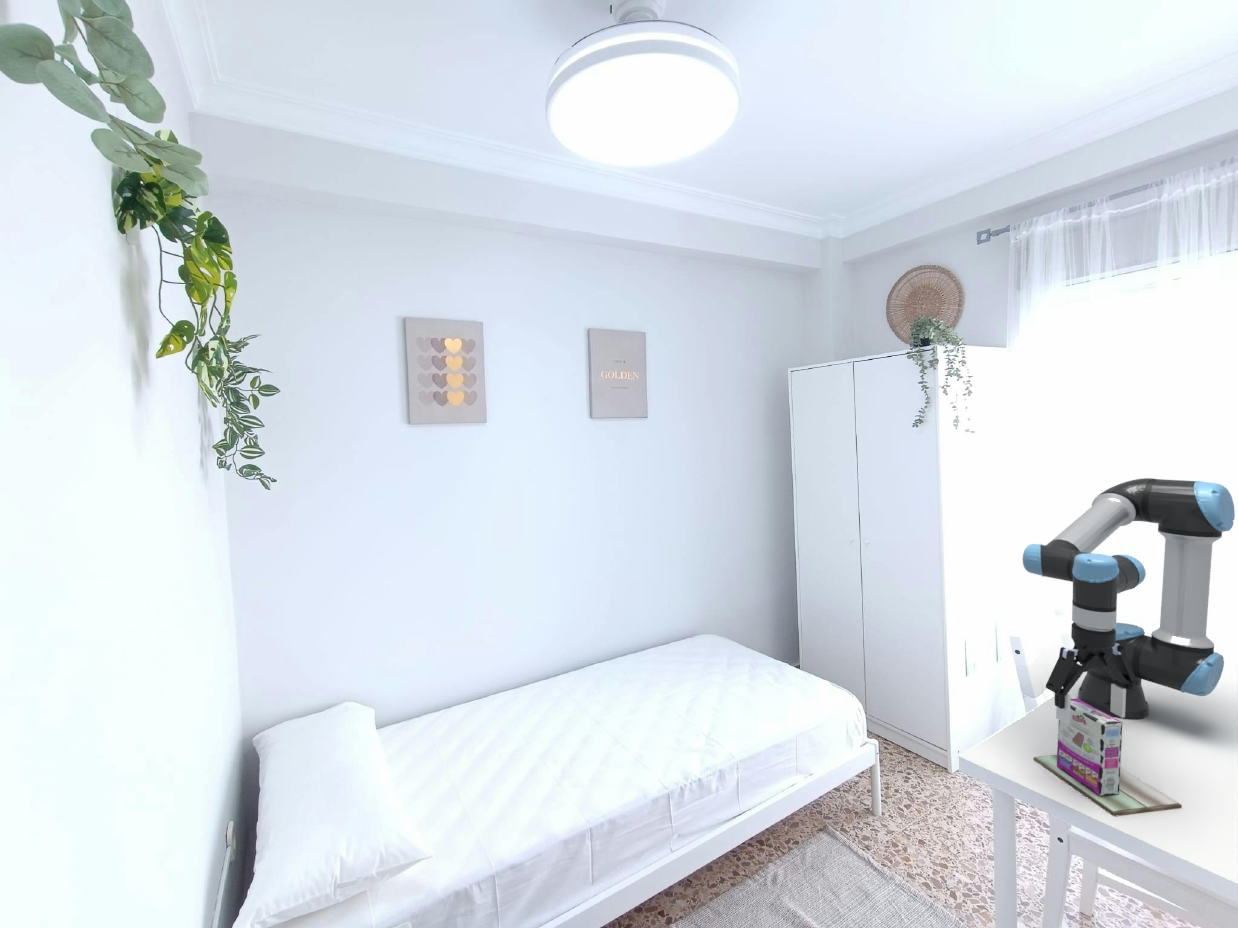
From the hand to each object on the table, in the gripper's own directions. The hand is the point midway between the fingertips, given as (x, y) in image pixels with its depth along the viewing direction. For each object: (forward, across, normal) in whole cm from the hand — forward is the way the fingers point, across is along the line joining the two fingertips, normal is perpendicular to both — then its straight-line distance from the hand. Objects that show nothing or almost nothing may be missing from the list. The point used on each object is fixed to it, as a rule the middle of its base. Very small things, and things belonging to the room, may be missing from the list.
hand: (1090, 717), depth 129 cm
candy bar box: (+15, +1, 0) cm, 15 cm away
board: (+15, -3, 0) cm, 16 cm away
